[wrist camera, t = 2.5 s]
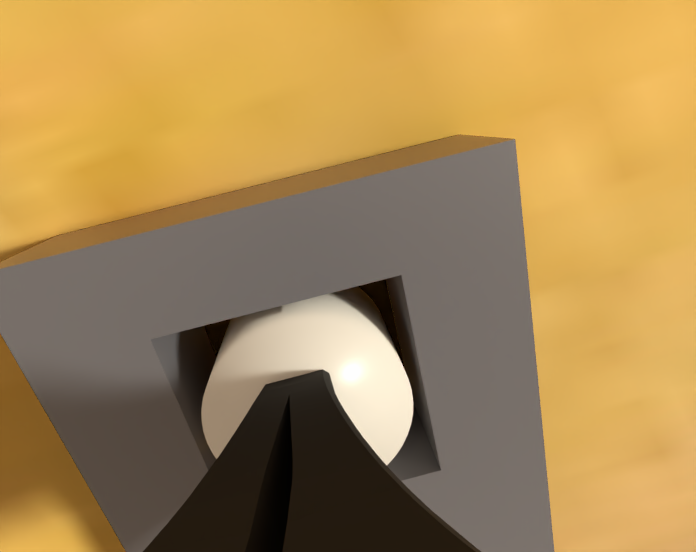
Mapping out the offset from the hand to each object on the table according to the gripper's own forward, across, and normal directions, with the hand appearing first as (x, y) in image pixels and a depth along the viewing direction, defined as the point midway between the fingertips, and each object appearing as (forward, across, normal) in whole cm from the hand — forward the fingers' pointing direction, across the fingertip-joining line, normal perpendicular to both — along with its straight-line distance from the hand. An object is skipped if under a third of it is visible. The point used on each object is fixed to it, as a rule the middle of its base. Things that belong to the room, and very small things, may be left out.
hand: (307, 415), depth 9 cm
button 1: (+3, 0, 0) cm, 3 cm away
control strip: (+3, 0, +10) cm, 10 cm away
